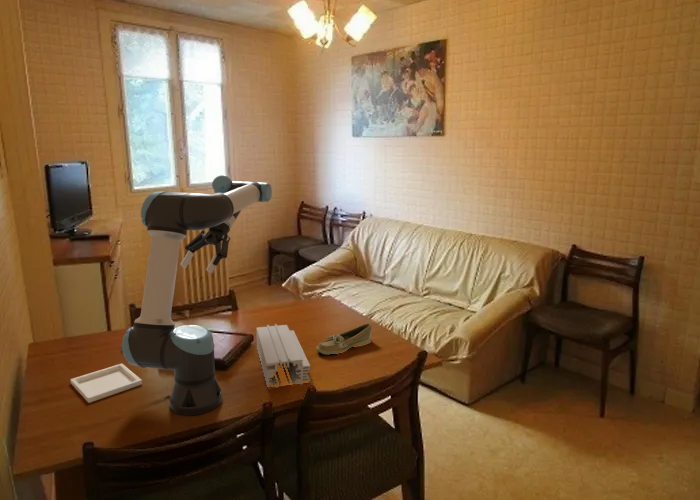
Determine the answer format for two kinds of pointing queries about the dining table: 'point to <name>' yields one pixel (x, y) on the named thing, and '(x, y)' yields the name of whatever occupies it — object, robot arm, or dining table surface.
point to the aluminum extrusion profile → (281, 354)
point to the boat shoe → (346, 340)
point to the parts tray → (105, 382)
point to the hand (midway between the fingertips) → (195, 269)
